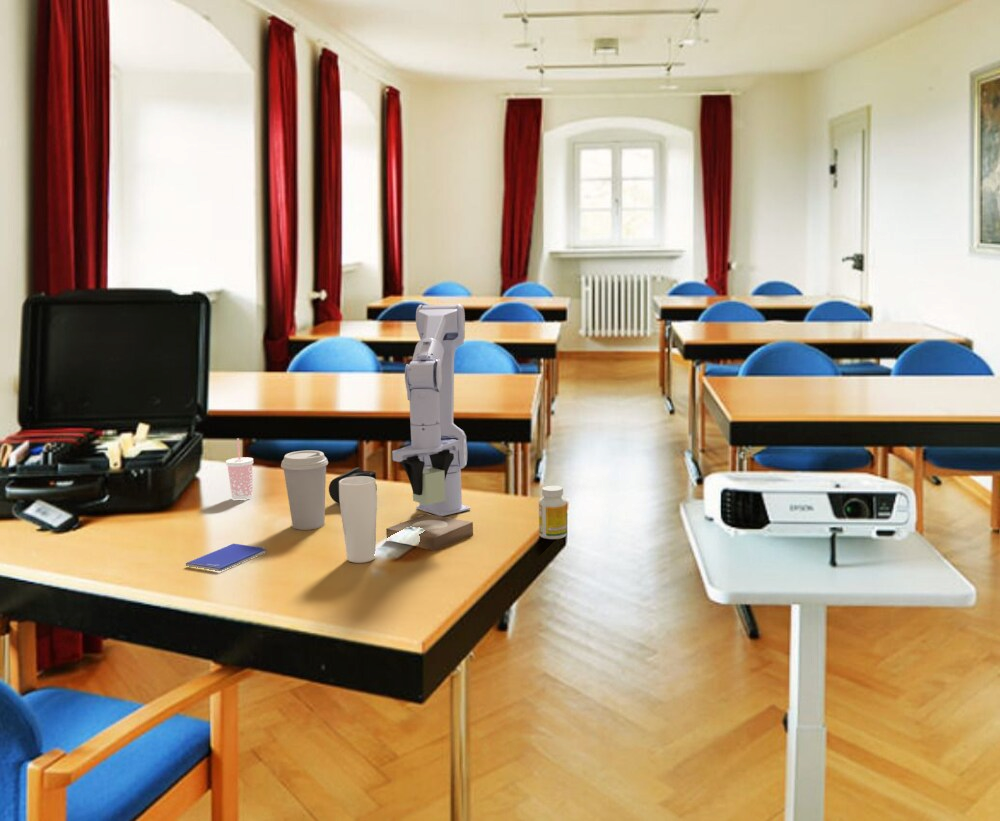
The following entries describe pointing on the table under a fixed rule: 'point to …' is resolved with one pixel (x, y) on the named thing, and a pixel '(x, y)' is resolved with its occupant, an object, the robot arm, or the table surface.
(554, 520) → the supplement bottle
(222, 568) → the blue notebook
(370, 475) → the end cap
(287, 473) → the coffee cup
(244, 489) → the beverage cup
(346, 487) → the drinking glass
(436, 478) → the block
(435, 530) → the plinth
